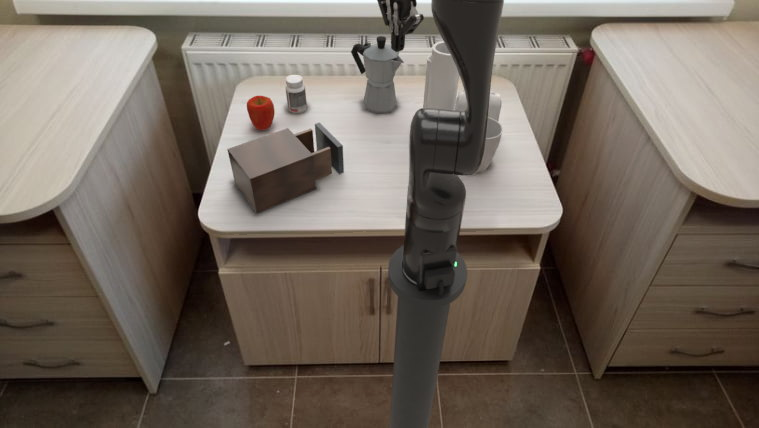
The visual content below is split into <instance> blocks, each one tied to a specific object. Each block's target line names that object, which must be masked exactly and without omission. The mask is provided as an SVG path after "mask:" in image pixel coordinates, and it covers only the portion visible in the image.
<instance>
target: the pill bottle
mask: <svg viewBox="0 0 759 428" xmlns="http://www.w3.org/2000/svg"><path fill="white" fill-rule="evenodd" d="M285 84H286V85H285V95H286V104H287V109H288V111H289V112H291V113H292V114H300V113H304V112H305V111H306V110H307V109H308V103H307V94H306V85H305V83H304V81H303V77H302V75H299V74H290V75H287V76H286V77H285Z"/></svg>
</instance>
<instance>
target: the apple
mask: <svg viewBox="0 0 759 428" xmlns="http://www.w3.org/2000/svg"><path fill="white" fill-rule="evenodd" d="M246 111H247V114H248V118H249V119H250V122H251V124H252V125H253V127H254V128H255V129H257V130H258V131H266V130H268V129H270V128H271V127H272V124H273V121H274V118H275V113H276V111H275V105H274V102H273V100H272V99H271V98H270V97H268V96H264V95H255V96H252V97H250V98H249V99H248V100H247V102H246Z"/></svg>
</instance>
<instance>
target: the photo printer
mask: <svg viewBox="0 0 759 428" xmlns="http://www.w3.org/2000/svg"><path fill="white" fill-rule="evenodd" d="M466 109H467V100H466V95H465V90H461V91H459V92H458V93H457V96H456V104H455V110H456V111H465V110H466ZM501 109H502V97H501V94H500V93H499V92H496V91H492V90H490V99H489V110H488V118H492V119H494V120H496V121H498V122H499V120H500V115H501Z"/></svg>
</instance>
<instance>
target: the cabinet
mask: <svg viewBox="0 0 759 428" xmlns="http://www.w3.org/2000/svg"><path fill="white" fill-rule="evenodd" d="M294 134H295V133H293V132H292V131H291V129H289V127H286V128H284V129H281V130H278V131H276V132H273V133H269V134H267V135H264V136H262V137H261V136H260V137H258V138H255V139H252V140H249V141H247V142H243V143H241V144H237V145H235V146H232V147H230V148H227V149H226V150H227V154H228V158H229V163H230V167H231V172H232V176H233V181H234V185H236V187H237V188H238V190H239V191H240V192H241V194H242V195H243V196H244V198H245V199H246V200H247V202H248V204H249V205H250V206H251V207H252V209H253V210H254V212H255V213H256V214H260V213H262V212H264V211H267V210H270V209H271V208H274V207H276V206H279V205H281V204H283V203H286V202H289V201H292V200H294V199H296V198H298V197H300V196H303V195H306V194H309V193H311V192H313V191H315V190H317V180H315V170H314V159H313V155H312V153H311V152H310V151H309V150H308V149H307V148H306V147H305V146H304V145H303V144H302V143H301V142H300V140H299V139H298V138H297V137H296V136H295V135H294Z"/></svg>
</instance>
